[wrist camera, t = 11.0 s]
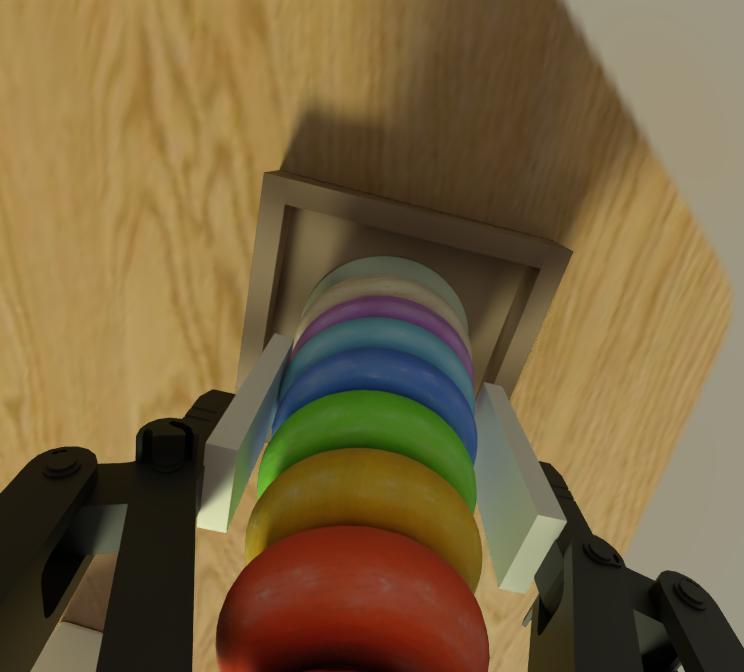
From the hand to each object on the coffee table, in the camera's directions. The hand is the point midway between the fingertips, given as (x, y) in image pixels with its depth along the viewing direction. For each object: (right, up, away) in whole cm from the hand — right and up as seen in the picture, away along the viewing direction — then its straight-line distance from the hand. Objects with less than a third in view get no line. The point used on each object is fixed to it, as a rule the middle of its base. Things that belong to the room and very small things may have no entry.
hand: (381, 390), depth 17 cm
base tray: (0, +2, +6) cm, 6 cm away
